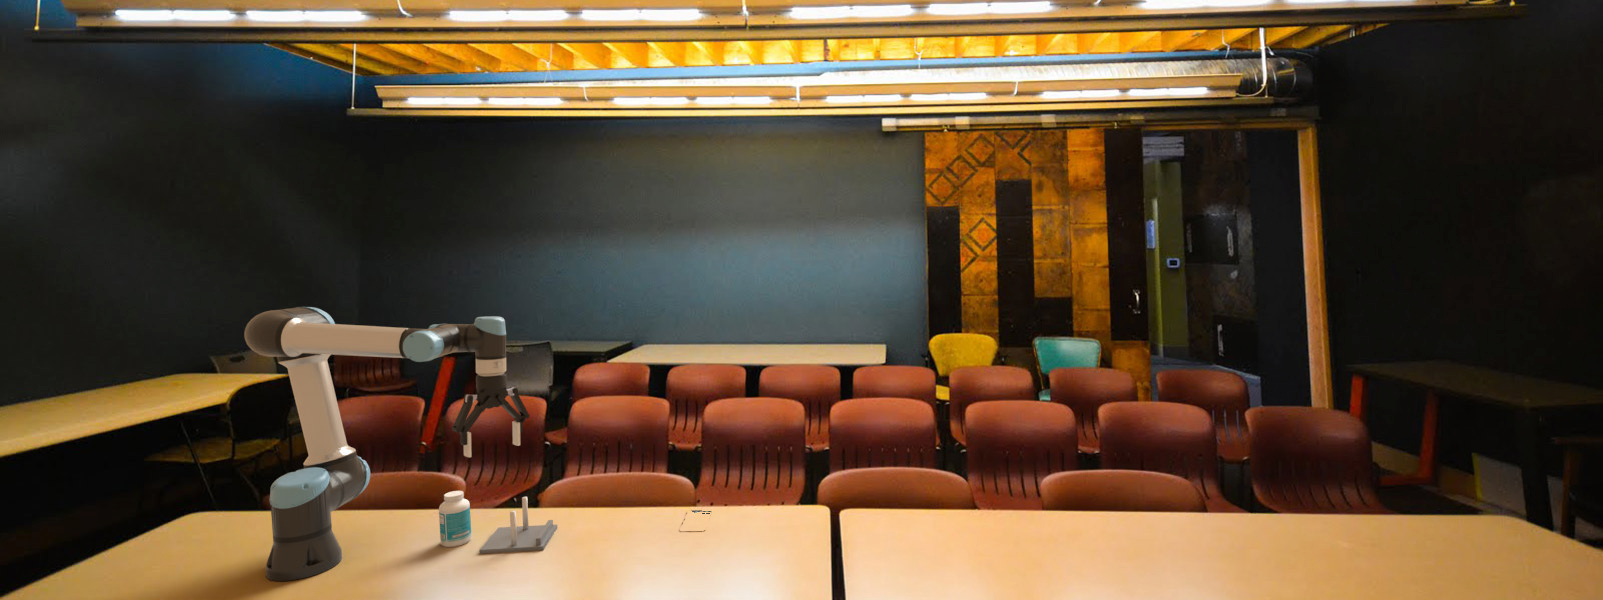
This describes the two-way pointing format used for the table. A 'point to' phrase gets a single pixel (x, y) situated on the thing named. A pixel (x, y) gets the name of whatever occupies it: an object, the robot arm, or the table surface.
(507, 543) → the grey peg board
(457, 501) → the pill bottle
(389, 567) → the table surface
